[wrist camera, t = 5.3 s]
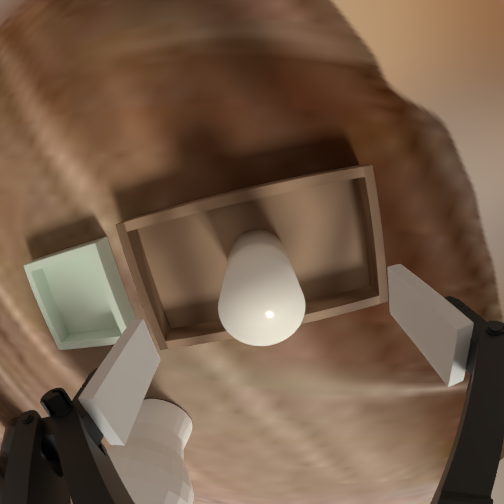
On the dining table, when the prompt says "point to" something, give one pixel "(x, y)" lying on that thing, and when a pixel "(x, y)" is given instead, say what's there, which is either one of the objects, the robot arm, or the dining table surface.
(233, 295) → the white rounded cylinder
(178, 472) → the cup
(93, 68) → the dining table surface
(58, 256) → the dish
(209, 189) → the dining table surface
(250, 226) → the tray
